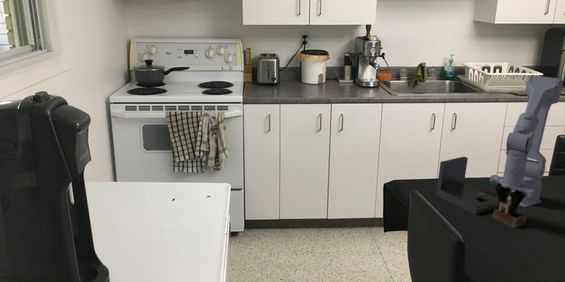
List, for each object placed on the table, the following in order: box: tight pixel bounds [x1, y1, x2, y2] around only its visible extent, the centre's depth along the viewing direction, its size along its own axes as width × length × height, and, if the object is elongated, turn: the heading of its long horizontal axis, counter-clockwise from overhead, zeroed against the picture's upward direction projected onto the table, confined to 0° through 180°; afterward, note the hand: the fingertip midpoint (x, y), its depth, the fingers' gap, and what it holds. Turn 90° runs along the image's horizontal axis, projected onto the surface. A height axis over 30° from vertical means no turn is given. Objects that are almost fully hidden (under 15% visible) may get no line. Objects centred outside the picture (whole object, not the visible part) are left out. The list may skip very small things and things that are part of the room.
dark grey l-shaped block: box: [435, 156, 499, 215], centre depth 167 cm, size 12×17×13 cm
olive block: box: [498, 199, 515, 215], centre depth 155 cm, size 4×3×6 cm
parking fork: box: [491, 208, 527, 229], centre depth 155 cm, size 5×8×3 cm
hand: (507, 209), depth 155 cm, fingers closed on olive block, 3 cm apart
